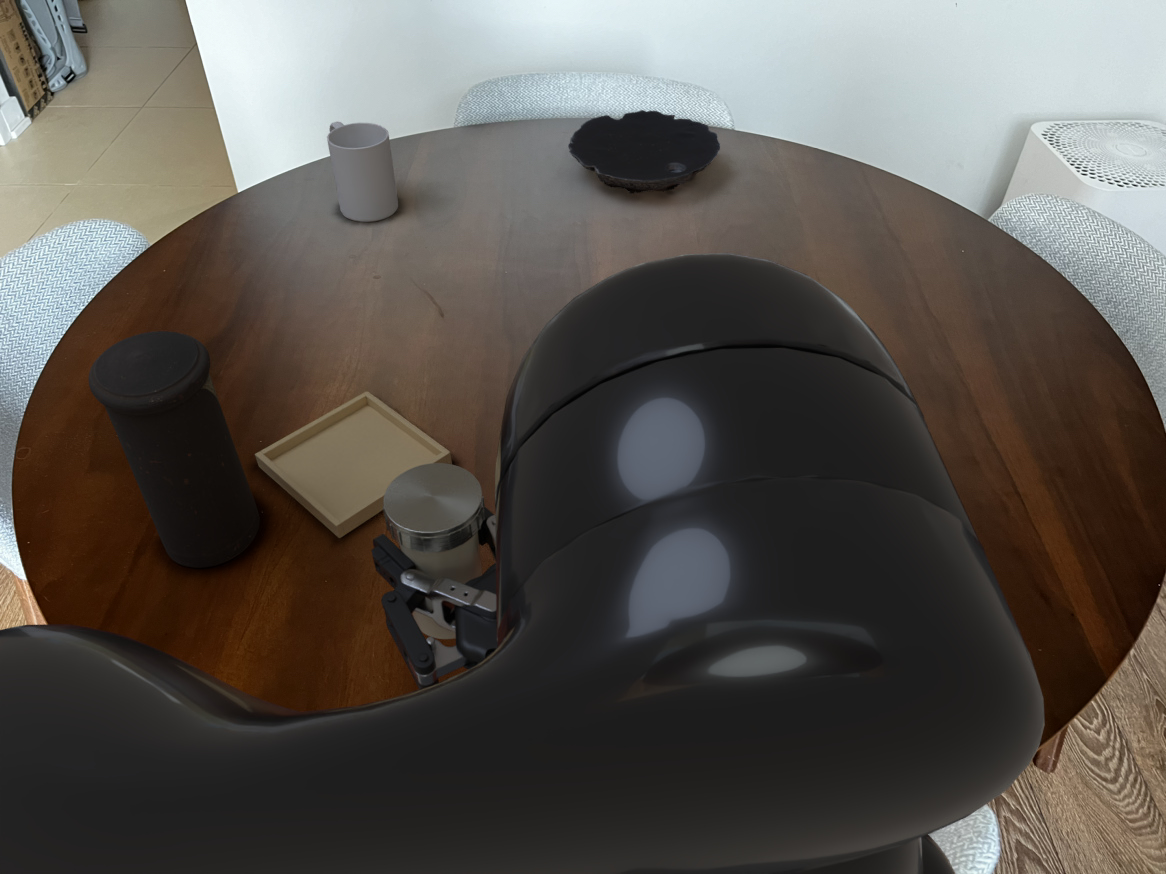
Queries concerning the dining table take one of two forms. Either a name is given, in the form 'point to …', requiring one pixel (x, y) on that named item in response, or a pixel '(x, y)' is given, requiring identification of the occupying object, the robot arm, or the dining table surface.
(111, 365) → the container
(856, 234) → the dining table surface
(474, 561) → the jar
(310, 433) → the tray
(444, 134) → the dining table surface
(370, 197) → the mug
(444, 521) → the lid
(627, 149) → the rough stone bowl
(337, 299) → the dining table surface
